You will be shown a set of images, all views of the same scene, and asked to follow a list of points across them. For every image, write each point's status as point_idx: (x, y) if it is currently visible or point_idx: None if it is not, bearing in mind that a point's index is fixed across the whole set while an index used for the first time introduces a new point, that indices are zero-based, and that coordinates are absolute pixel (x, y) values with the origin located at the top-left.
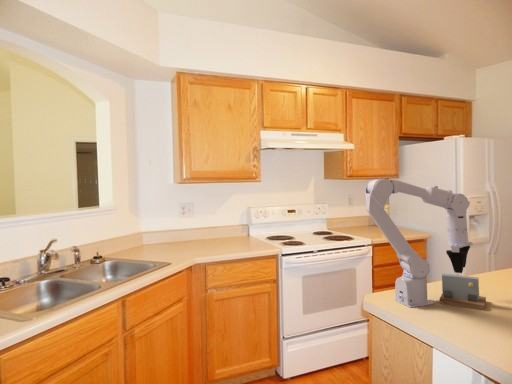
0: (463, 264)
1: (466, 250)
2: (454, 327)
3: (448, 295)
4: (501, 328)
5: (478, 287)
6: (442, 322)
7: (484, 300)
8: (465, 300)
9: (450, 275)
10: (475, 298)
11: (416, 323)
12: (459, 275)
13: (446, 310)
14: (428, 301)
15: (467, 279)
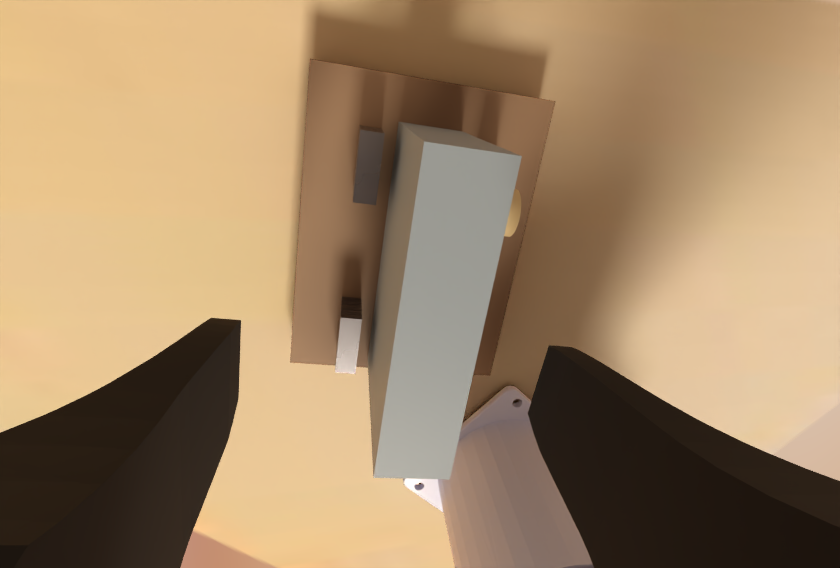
0: (633, 399)
1: (97, 534)
2: (829, 277)
3: None
4: (822, 37)
5: (460, 138)
6: (773, 328)
7: (422, 83)
8: None
9: (433, 415)
10: None
11: (798, 423)
12: (401, 339)
13: (592, 317)
14: (500, 416)
15: (492, 259)
